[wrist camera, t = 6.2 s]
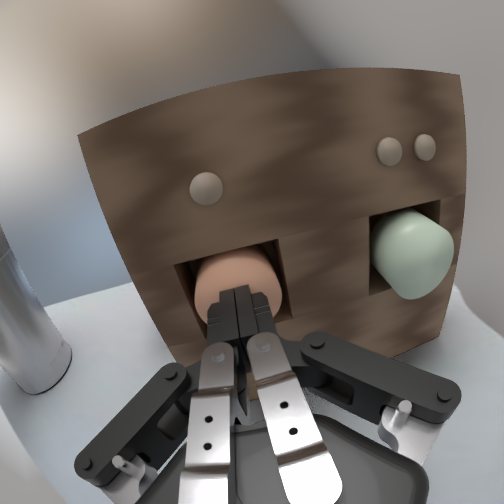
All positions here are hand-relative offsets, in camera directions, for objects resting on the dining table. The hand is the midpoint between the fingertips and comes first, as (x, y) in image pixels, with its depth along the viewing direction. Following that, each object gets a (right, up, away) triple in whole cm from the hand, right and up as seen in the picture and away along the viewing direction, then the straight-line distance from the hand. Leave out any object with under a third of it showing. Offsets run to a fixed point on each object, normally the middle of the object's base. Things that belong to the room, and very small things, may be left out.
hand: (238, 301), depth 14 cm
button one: (0, -1, +2) cm, 3 cm away
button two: (+10, +1, +1) cm, 10 cm away
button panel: (+7, -6, +7) cm, 11 cm away
